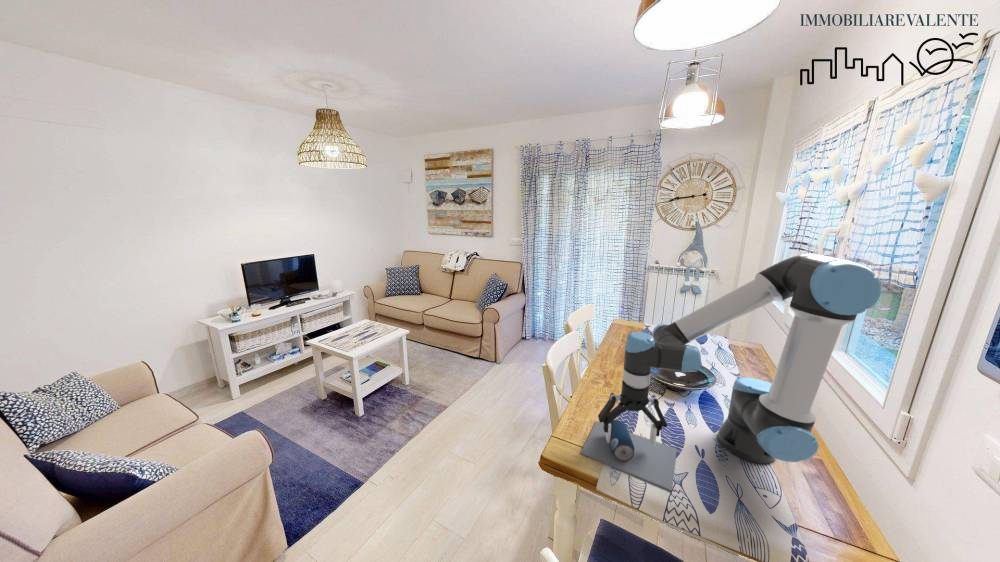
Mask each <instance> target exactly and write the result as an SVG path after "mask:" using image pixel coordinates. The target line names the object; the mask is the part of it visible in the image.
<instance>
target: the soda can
mask: <svg viewBox="0 0 1000 562" xmlns="http://www.w3.org/2000/svg"><path fill="white" fill-rule="evenodd" d="M629 432H630V431H629V429H628V427H627V425H626V423H624V421H622V420H619V419H614V420H613V421H612V422H611V435H610V447H611V451H612V453H613V454H614V455H615V457H616V458H617V459H618V460H620V461H629V460H631V459H632V458H633V456H634V450H635V449H634V445H633V443H632V440H631V437H630V434H629Z"/></svg>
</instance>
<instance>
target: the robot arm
mask: <svg viewBox="0 0 1000 562" xmlns="http://www.w3.org/2000/svg"><path fill="white" fill-rule="evenodd" d="M881 293H882V284H881V281H880V279H879V277H878V276H877V275H876V274H875V272H874V271H873V270H871V269H870V268H868V267H867V266H865V265H862V264H860V263H858V262H857V263H856V262H854V261H851V260H847V259H843V258H836V257H831V256H826V255H822V254H817V253H803V254H799V255H794V256H792V257H789V258H786V259H784V260H781V261H779V262H777V263H775V264H773V265H771V266H769V267H767V268H765V269H763V270H762V271H759V272H757V273H756V274H755V276H754V279H753V280H751V281H748V282H747V283H745V284H743V285H741V286H739V287H737V288H735V289H734V290H732V291H730V292H728V293H726V294H724V295H723V296H721V297H719V298H717V299H715V300H712V301H711V302H709V303H708V304H706V305H704V306H701V307H700V308H698V309H696V310H694V311H692V312H690V313H689V314H688V313H687V314H686V315H685V316H683V317H681V318H680V319H677V320H676V321H674V322H672V323H670V324H668V323H661V324H660V323H659V324H658V325H656V326H655V327H654V328H653V329H652V335H651V334H650V333H645V332H644V331H643V332H642V331H632V332H630V333H628V334H627V336H626V340H625V341H626V343H625V346H624V360H623V361H624V362H623V370H622V371H623V373H622V381H621V382H622V383H621V393H620V395H616V394H615V393H614V392H611V393H610V394H609V395H610V396H609V398H608V400H607V402H606V404H605V405H603V408H602V409H601V411H600V412H599V413H598V416H597V417H598V422H601V423H604V425H603V429H604V432H606V440H607V443H610V435H611V422H612V421H613V420H616V419H617V418H618V417H619V416H620V415H622V413H626V412H627V411H628V412H641V411H642V412H643V413H644V415H646V417H648V419H649V420H650V421H651V425H650V432H649V439H650V443H651V445H652V447H655V442H657V437H659V436H660V432H661V430H662V429H663V427H664V428H668V423H667V421H666V420H665V419H666V418H665V417H664V415H663V412H662V411H661V408H660V404H659V403H660V402H659V399H658V397H657V396H656V395H652V396H651V397H649V392H650V384H651V383H650V382H651V373H652V369H653V368H654V369H661V370H668V371H673V372H674V371H681V372H698V371H699V370H700V368H701V364H702V355H701V351H700V349H699V348H698V347H697V346H695V345H690V344H689V343H691V342H693V341H695V340H697V339H699V338H701V337H704V336H705V335H707V334H710V333H711V332H713V331H715V330H717V329H719V328H721V327H723V326H725V325H727V324H730V323H731V322H733V321H735V320H737V319H740V318H742V317H744V316H746V315H748V314H750V313H752V312H755V311H756V310H758V309H760V308H762V307H764V306H766V305H768V304H770V303H772V302H779V303H780V302H782V301H785V300H788V299H790V298H791V301H790V304H789V308H790V309H791V311H792V312H793V313H794V317H793V319H792V322H791V324H790V325H791V326H790V328H789V330H788V331H789V332H788V334H787V337H786V340H785V344H784V347H783V350H782V352H781V355H780V357H779V361H778V364H777V367H776V370H775V372H774V375H773V379H772V382H769V381H766V380H762V379H758V378H755V377H754V378H753V377H739V378H736V379H735V380H734V383H733V386H732V390H731V396H730V402H729V408H728V414H727V417H726V418H725V420H724V422H723V423H722V424H721V425H720V427H719V429H718V433H717V439H718V441H719V443H720V444H721V445H722V447H723V448H725V449H726V450H727V451H729V453H732V454H733V455H734V456H736V457H738V458H741V459H742V460H746V461H749V462H752V463H755V464H771V463H773V462H774V461H775V460H778V461H782V462H787V463H798V462H802V461H807V460H809V459H811V458H813V457H814V456H815V455H816V454H817V452H818V451H819V450H818V449H819V442H818V440H817V437H816V436H815V435H814V433H812V430H813V428H814V425H815V422H816V420H817V419H816V418H817V417H816V415H815V414H814V412H813V411H812V410H811V409H812V406H813V404H814V401H815V400H816V399H815V398H816V396H817V394H818V390H819V388H820V385H821V383H822V381H823V380H822V379H823V377H824V375H825V372H826V370H827V368H828V365H829V362H830V359H831V356H832V354H833V351H834V349H835V347H836V343H837V341H838V338H839V336H840V333H841V331H842V328H843V326H844V325H846V324H850V323H853V322H855V320H856V317H857V315H858V314H863V313H864V312H866V310H868V309H871V308H873V307H874V306H875V305H876V304H877V303H878V301H879V299H880V297H881ZM617 403H618V404H617ZM649 403H650V405H652V406H653V407H654V410H655V412H656V414H657V416H658V418H659V420H658V419H657V418H656V417H655V416H654V414H653V413H652V412H651V411H650V409H648V408H647V405H649ZM616 404H617V406H615V405H616Z"/></svg>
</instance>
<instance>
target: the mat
mask: <svg viewBox="0 0 1000 562" xmlns="http://www.w3.org/2000/svg"><path fill="white" fill-rule="evenodd" d="M603 425H604V423H603V422H602V423H601V422H600V421H599V420H596V421H595V423H594V424H593V426H592V428H591V431H590V433H589V434H588V436H587V439H586V441H585V443H584V445H583V447H582V448H581V451H580V455H581V456H582V455H583V456H584V457H588V458H590V459H592V460H594V461H596V462H599V463H602V464H604V465H606V466H609V467H611V468H613V469H616V470H619V471H621V472H623V473H625V474H627V475H630V476H633V477H635V478H637V479H640V480H642V481H645V482H646V483H649V484H651V485H654V486H656V487H659V488H662V489H664V490H666V491H669V492H673V486H674V478H675V469H676V461H677V460H676V458H677V450H678V449H677V448H675V447H673V446H670V445H667V444H664V443H661V442H659V441H656V442H655V447H652V445H651V443H650V438H646V437H644V436H641V435H639V434H636V433H633V432H630V431H628V432H629V434H630V437H631V440H632V443H633V445H634V449H635V450H634V456H633V458H632V459H631V460H629V461H620V460H618V459H617V458H616V457H615V455H614V454H613V453H612V451H611V447H610V443H607V440H606V432H604V429H603Z"/></svg>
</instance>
